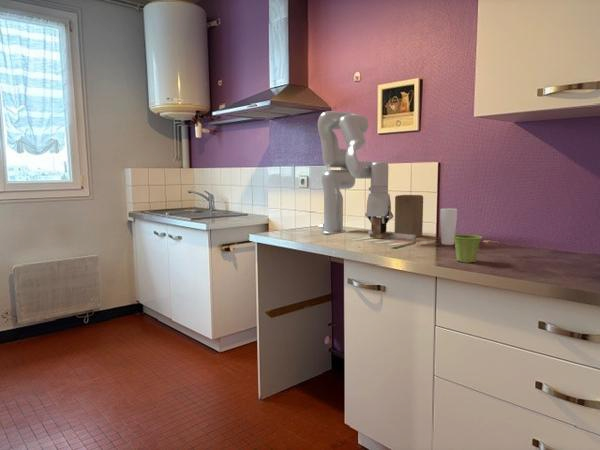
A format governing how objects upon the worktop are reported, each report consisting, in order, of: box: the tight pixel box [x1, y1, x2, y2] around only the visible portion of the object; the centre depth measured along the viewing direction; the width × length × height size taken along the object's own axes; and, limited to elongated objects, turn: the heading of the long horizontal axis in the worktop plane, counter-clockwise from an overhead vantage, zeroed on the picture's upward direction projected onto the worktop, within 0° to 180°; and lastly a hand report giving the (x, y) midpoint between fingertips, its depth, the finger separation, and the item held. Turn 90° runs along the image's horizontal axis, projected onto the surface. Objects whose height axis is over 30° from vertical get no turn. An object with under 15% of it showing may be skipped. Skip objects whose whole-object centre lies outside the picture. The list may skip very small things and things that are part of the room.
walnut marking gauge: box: [370, 217, 388, 238], centre depth 193 cm, size 6×5×8 cm
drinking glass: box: [439, 207, 458, 246], centre depth 185 cm, size 7×7×15 cm
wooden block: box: [393, 194, 424, 238], centre depth 200 cm, size 10×10×20 cm
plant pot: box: [452, 234, 483, 264], centre depth 150 cm, size 9×9×9 cm
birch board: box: [349, 229, 417, 250], centre depth 188 cm, size 23×16×4 cm
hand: (378, 231), depth 193 cm, fingers closed on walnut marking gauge, 4 cm apart
